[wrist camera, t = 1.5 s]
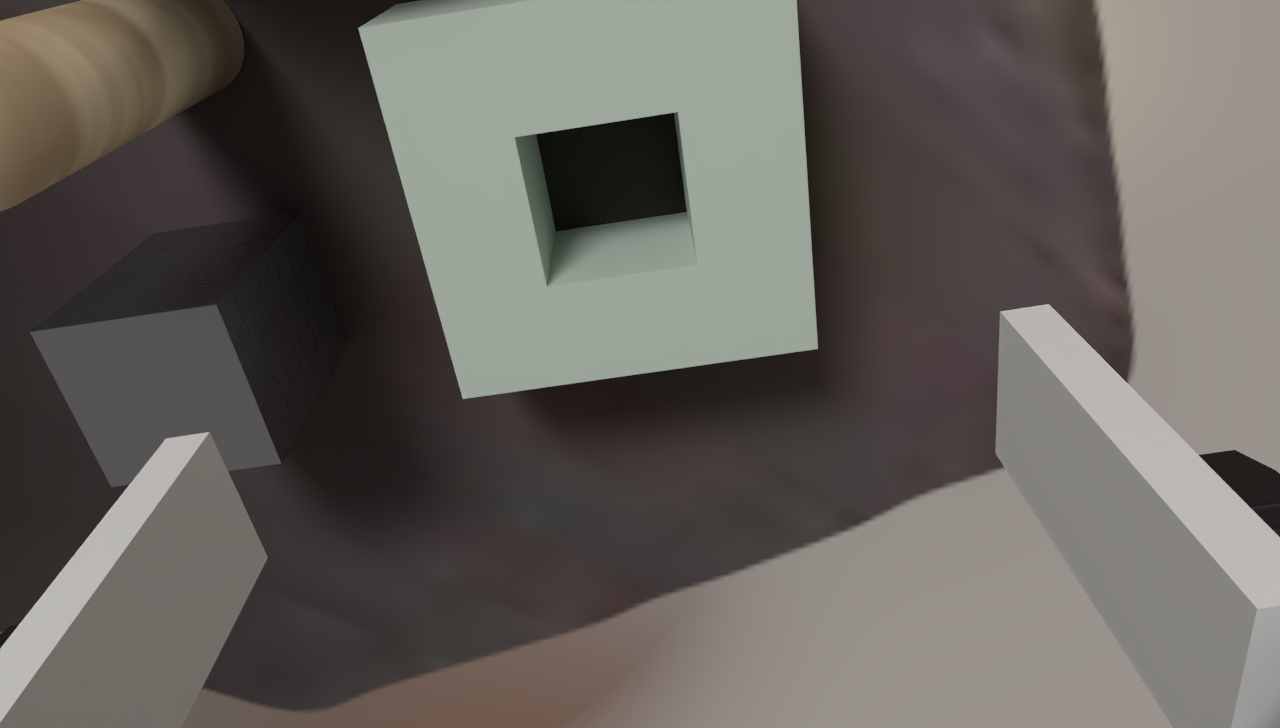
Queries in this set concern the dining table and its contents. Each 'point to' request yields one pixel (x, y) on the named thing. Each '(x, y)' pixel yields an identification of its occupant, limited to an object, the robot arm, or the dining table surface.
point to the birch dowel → (103, 80)
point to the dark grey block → (198, 344)
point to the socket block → (616, 252)
